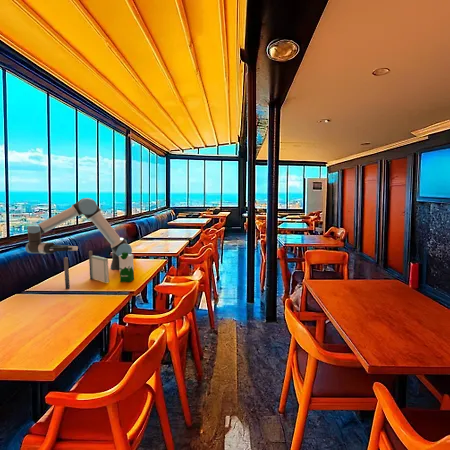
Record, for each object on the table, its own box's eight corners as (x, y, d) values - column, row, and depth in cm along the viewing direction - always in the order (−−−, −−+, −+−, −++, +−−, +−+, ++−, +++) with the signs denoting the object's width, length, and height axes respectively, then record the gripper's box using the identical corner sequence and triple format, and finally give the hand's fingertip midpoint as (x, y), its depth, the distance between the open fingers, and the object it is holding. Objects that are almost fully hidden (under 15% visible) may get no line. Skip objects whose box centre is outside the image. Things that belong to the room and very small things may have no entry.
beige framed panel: (91, 278, 237) (90, 255, 235) (94, 277, 238) (93, 255, 237) (105, 282, 224) (104, 259, 223) (108, 282, 226) (107, 258, 224)
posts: (91, 278, 241) (90, 250, 239) (94, 278, 240) (93, 250, 238) (64, 289, 214) (62, 258, 212) (67, 289, 213) (66, 258, 212)
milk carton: (118, 282, 228) (117, 253, 227) (123, 279, 237) (122, 251, 236) (131, 282, 228) (129, 253, 226) (135, 279, 237) (134, 251, 235)
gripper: (54, 251, 237) (83, 252, 232) (40, 255, 225) (71, 255, 219) (53, 241, 237) (83, 241, 231) (39, 244, 224) (70, 244, 218)
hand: (77, 248), depth 225 cm, fingers closed
